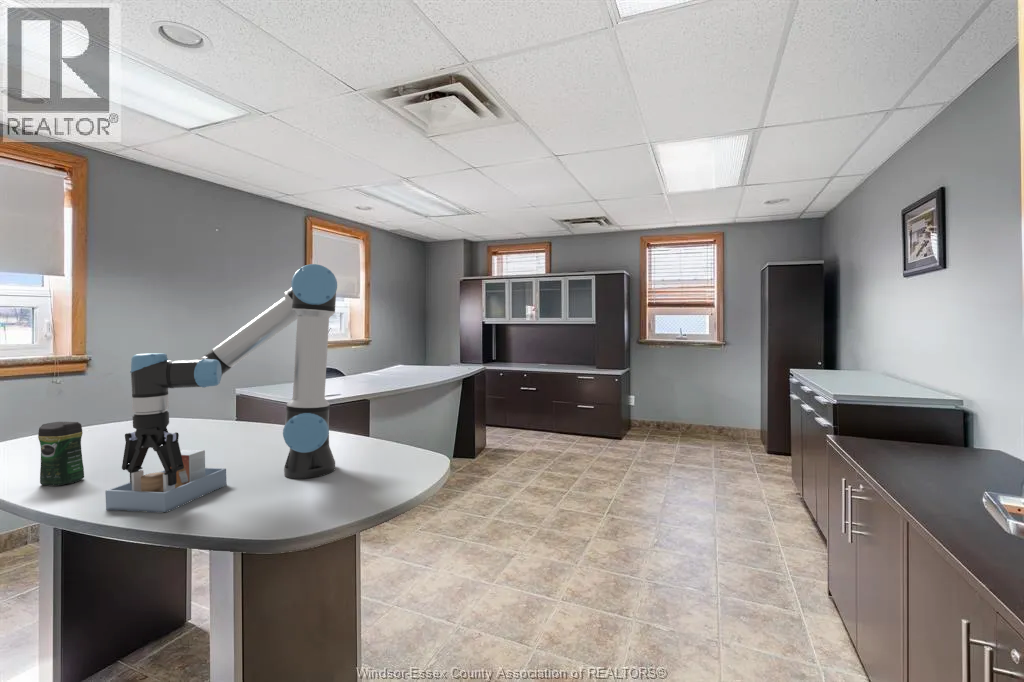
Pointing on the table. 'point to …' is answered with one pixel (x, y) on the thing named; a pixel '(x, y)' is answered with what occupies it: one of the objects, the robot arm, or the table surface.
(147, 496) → the tray
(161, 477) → the tan wooden block
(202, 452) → the small box
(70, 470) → the coffee jar
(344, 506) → the table surface
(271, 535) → the table surface
